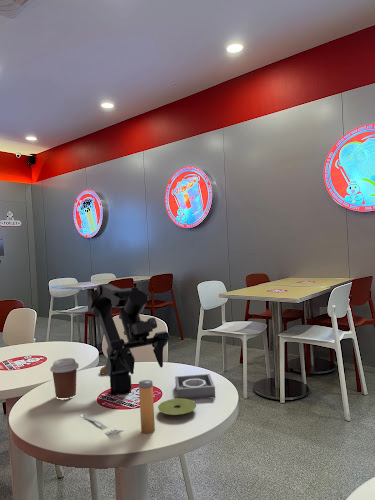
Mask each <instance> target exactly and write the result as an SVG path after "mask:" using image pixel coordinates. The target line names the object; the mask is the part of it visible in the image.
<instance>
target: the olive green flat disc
mask: <svg viewBox="0 0 375 500" xmlns="http://www.w3.org/2000/svg"><path fill="white" fill-rule="evenodd" d="M157 406H158V407H157V409H158V411H159V412H160V413H163V414H165V415H171V416H177V415H185V414H187V413H188V414H189V413H191V412H193V411H194V410H195V409H196V408H197V403H196V401H194V400H193V399H190V400H189V399H182V398H179V399H177V398H171V399H167V400H164V401H162V402H160V403H159V405H157Z"/></svg>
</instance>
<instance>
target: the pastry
mask: <svg viewBox="0 0 375 500" xmlns="http://www.w3.org/2000/svg"><path fill="white" fill-rule="evenodd" d="M105 366H106V365H104V366H103V367H101V368H100V370H99V374H101V375H107V374H106V372H105ZM107 376H108V375H107Z"/></svg>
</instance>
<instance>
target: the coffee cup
mask: <svg viewBox="0 0 375 500" xmlns="http://www.w3.org/2000/svg"><path fill="white" fill-rule="evenodd" d="M79 364H80V363H78V362H77V361H76V359H75V358H72V357H65V358H58V359H56V360H54V361H53V364H52V366H50V368H49V370H50V372H51V373H52V378H53V386H54V390H55V391H54V392H55V398H56V397H58V398H70V397H73V396H75V395H76V396H77V370H78V368H79ZM76 396H75V397H76Z"/></svg>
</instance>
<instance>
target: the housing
mask: <svg viewBox="0 0 375 500" xmlns="http://www.w3.org/2000/svg"><path fill="white" fill-rule="evenodd" d="M174 378H175V379H174V380H175V381H174V383H175V390H176V391H175V392H176V399H179V398H182V399H189V400H200V399H201V398H202V399H211V398H210V397H214V398H216V386H215V384H214V381H213V379H212V376H211V375H210V373H204V374H203V373H202V374H191V375H190V374H189V375H177V376H175V377H174Z"/></svg>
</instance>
